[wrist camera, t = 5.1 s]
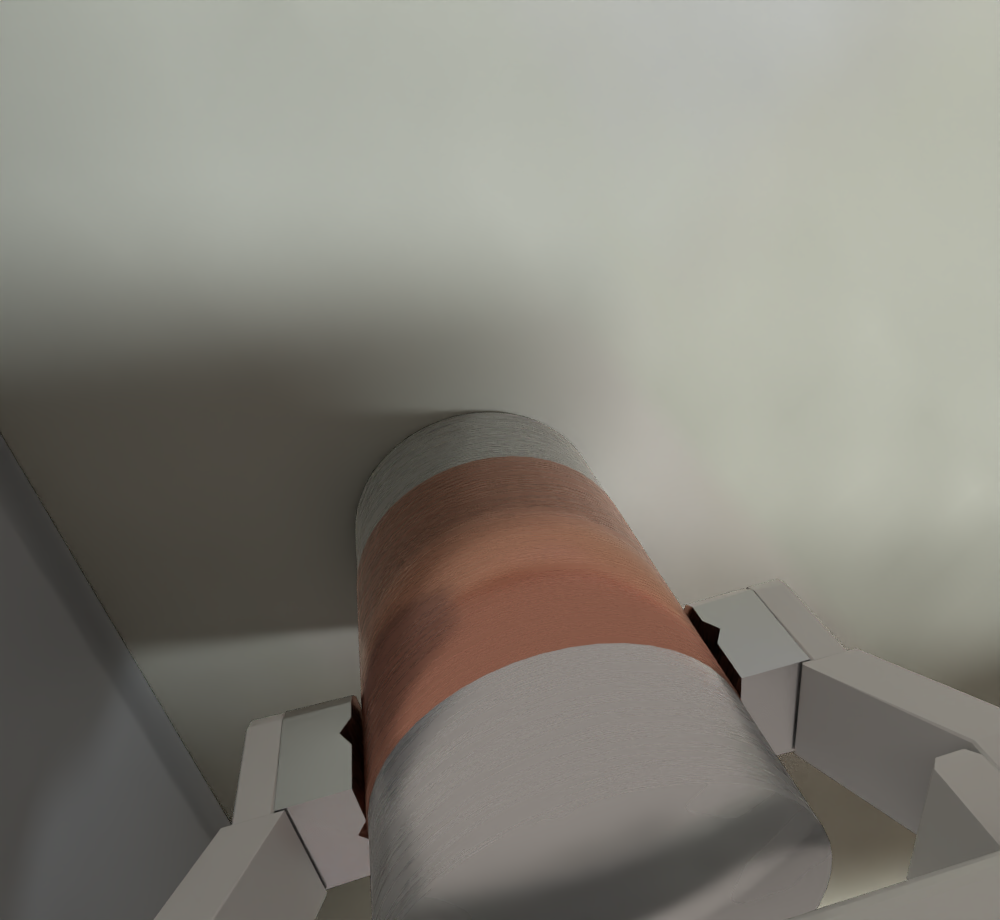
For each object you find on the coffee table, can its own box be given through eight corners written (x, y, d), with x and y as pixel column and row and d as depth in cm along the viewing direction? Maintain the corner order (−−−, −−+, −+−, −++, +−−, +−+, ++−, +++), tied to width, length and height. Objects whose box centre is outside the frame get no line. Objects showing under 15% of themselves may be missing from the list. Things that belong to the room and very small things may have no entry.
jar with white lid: (584, 385, 13) (858, 721, 6) (605, 584, 16) (814, 977, 9) (322, 446, 13) (307, 885, 6) (388, 642, 15) (430, 1107, 8)
